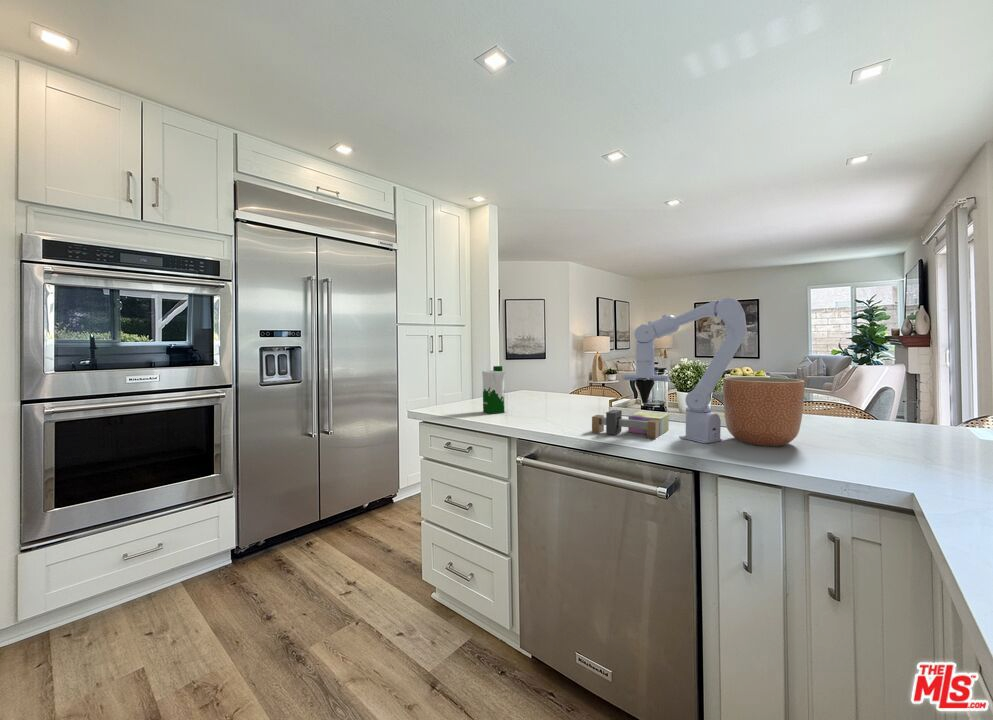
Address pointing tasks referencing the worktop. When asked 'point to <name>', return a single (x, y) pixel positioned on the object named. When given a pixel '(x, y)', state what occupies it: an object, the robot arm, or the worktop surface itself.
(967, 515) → the worktop surface
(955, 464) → the worktop surface
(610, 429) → the collar
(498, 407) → the milk carton
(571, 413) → the worktop surface
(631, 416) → the box
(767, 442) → the planter
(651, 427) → the pipe rig
